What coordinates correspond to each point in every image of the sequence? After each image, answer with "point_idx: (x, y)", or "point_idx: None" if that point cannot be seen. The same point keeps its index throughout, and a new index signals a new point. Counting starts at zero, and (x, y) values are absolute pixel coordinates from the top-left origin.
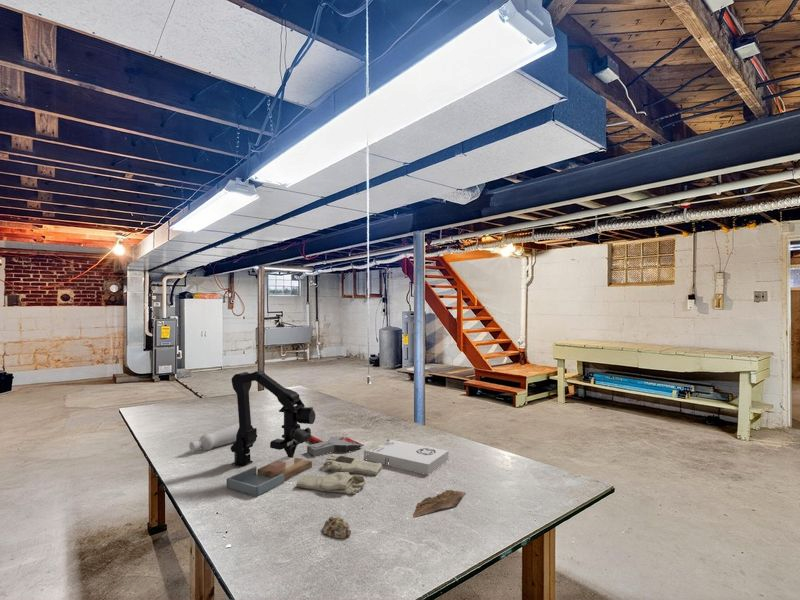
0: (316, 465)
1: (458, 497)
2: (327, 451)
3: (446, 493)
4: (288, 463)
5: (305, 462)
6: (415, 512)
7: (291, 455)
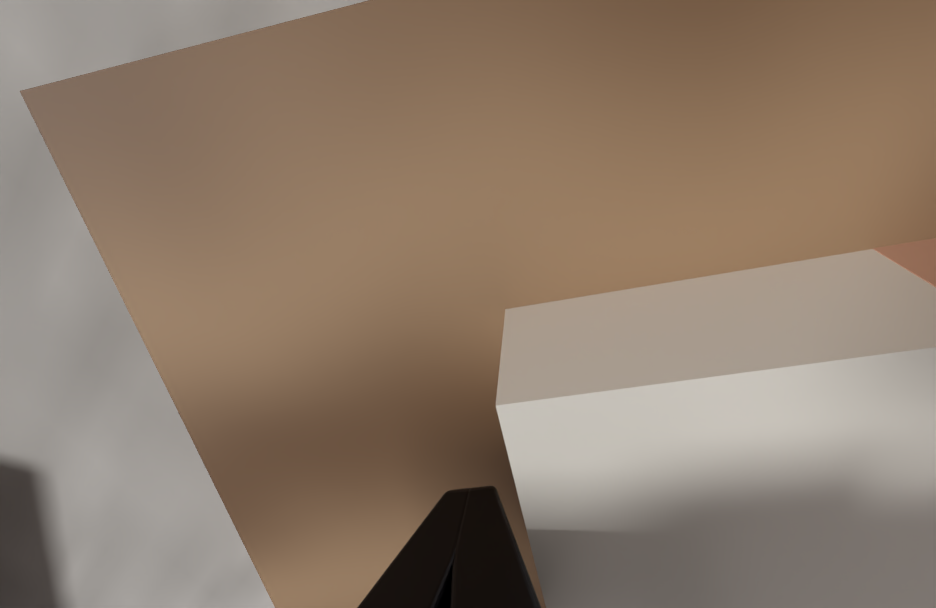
0: (6, 88)
1: None
2: None
3: None
4: (785, 316)
5: (208, 168)
6: None
7: (503, 578)
